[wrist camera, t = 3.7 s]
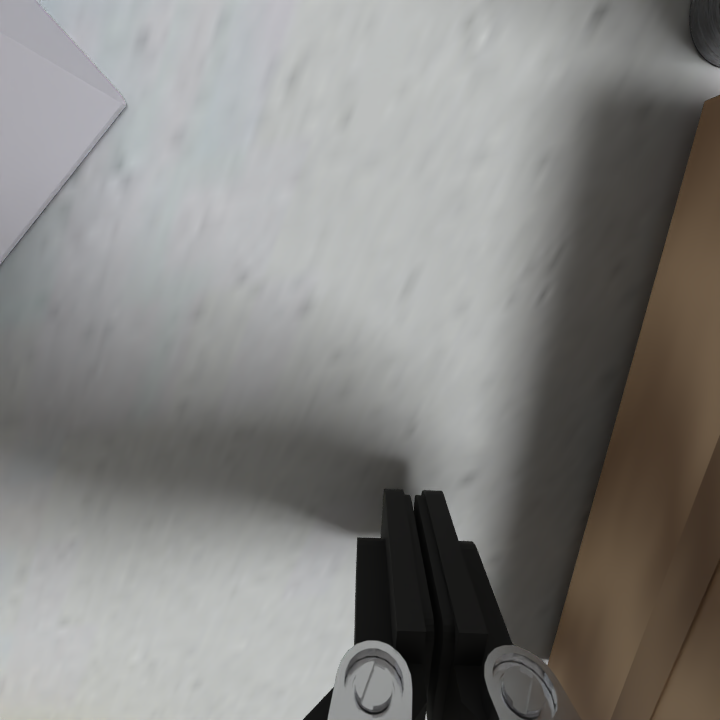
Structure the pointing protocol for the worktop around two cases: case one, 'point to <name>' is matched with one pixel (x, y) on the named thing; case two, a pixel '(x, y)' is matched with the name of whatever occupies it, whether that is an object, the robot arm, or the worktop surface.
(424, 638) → the robot arm
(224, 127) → the worktop surface
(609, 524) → the gate
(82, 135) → the charger
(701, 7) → the hinge post
